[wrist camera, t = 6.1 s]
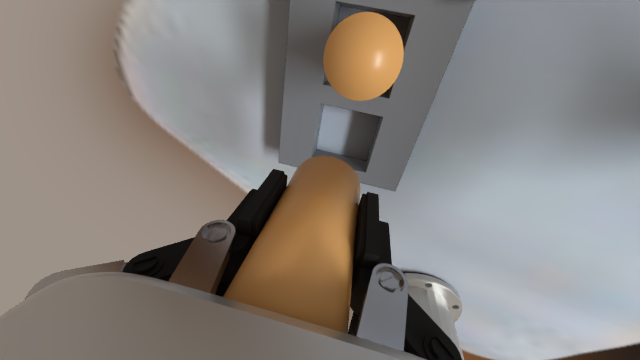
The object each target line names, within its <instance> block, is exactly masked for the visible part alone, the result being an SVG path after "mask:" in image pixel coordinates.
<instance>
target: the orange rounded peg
mask: <svg viewBox="0 0 640 360" xmlns="http://www.w3.org/2000/svg"><path fill="white" fill-rule="evenodd" d="M359 198H360V181H359V178H358V176H357V174H356V172H355V171H354V170H353V168H352V167H351V166H350V165H348V164H347V163H346V162H344V161H342V160H340V159H338V158H335V157H331V156H316V157H312V158H309V159H307V160H306V161H304V162H303V163H302V164H301V165H300V166H299V167H298V168H297V170H296V172H295V173H294V175H293V177H292V178H291V180H290V182H289V184H288V185H287V187H286V189H285V191H284V192H283V194H282V196H281V198H280V199H279V201H278V203H277V204H276V206H275V208H274V210H273V211H272V213H271V215H270V217H269V218H268V220H267V222H266V223H265V225H264V227H263V229H262V230H261V232H260V234H259V236H258V237H257V239H256V241H255V242H254V244H253V246H252V248H251V249H250V251H249V253H248V255H247V256H246V258H245V260H244V262H243V263H242V265H241V267H240V268H239V270H238V272H237V274H236V275H235V277H234V279H233V281H232V282H231V284H230V286H229V287H228V289H227V291H226V293H225V294H224V296H223V297H224V298H228V299H231V300H235V301H238V302H242V303H245V304H249V305H252V306H255V307H259V308H262V309H266V310H269V311H272V312H276V313H279V314H283V315H286V316H289V317H293V318H296V319H299V320H303V321H306V322H310V323H313V324H316V325H320V326H323V327H326V328H330V329H333V330H336V331H340V332H343V333H346V334H347V333H348V321H349V310H350V299H351V288H352V277H353V264H354V253H355V242H356V231H357V219H358V208H359Z"/></svg>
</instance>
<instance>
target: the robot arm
mask: <svg viewBox="0 0 640 360" xmlns="http://www.w3.org/2000/svg"><path fill="white" fill-rule="evenodd" d="M286 185H287V175H285V174H284V171H280V170H275V169H273V170H272V171H271V173H270V174H269V175H268V177H267V178H266V179H265V181H264V182H263V183H262V185H261V186H260V187H259V189H258V190H256V189H252V190H251V191H250V192H249V193H248V194H247V196H246V197H245V198H244V200H243V201H242V202H241V203H240V205H239V206H238V207H237V208H236V210H235V211H234V212H233V213H232V215H231V216H230V217H229V218H228V219H227V221H225V220H215V221H211V222H209V223H207V224H205V225H204V226H202V227H201V229H200V230H199V232H198V233H197V235H196V236H195V237H194V238H191V239H187V240H184V241H181V242H178V243H174V244H171V245H167V246H164V247H161V248H158V249H154V250H151V251H147V252H144V253H142V254H139V255H137V256H136V257H134V258H132V259H131V260H130V261H129V262H127V263H125V262H124V260H121V261H116V262H110V263H105V264H99V265H93V266H87V267H82V268H76V269H71V270H65V271H61V272H57V273H54V274H52V275H50V276H48V277H45V278H44V279H42V280H41V281H39V282H38V283H37V284H36V285H34V287H33V288H32V289H31V290H30V291H29V293H28V295H27V296H26V298H25V300H24V301H22V302H21V303H19V304H18V305H16V306H15V307H13V308H12V309H10V310H9V311H7V312H6V313H5V314H3V315H2V316H0V360H464V357H463V354H462V350H461V347H460V343H459V340H458V336H457V332H456V329H455V325H454V322H455V321H457V320H458V318H459V317H460V315H461V313H462V304H461V301H460V298H459V295H458V294H457V292H456V291H455V290H454V289H453V288H452V287H451V286H450V285H448V284H447V283H446V282H444V281H442V280H440V279H437V278H435V277H432V276H428V275H423V274H418V273H403V272H402V271H400V270H399V269H398V268H397V267H395V266H393V265H392V261H391V248H390V235H389V224H388V223H386V222H382V221H379V199H378V194H374V193H370V192H367V194H362V197H361V200H360V203H359V208H358V219H357V231H356V242H355V253H354V264H353V277H352V288H351V299H350V307H351V308H352V310H353V311H354V312H353V316H352V319H351V323H350V326H349V330H348V334H346V333H343V332H340V331H336V330H333V329H330V328H326V327H323V326H320V325H316V324H313V323H310V322H306V321H303V320H299V319H296V318H293V317H289V316H286V315H283V314H279V313H276V312H272V311H269V310H266V309H262V308H259V307H255V306H252V305H249V304H245V303H242V302H238V301H235V300H231V299H228V298H224V297H223V296H224V294H225V293H226V291H227V289H228V287H229V286H230V284H231V282H232V281H233V279H234V277H235V275H236V274H237V272H238V270H239V268H240V267H241V265H242V263H243V262H244V260H245V258H246V256H247V255H248V253H249V251H250V249H251V248H252V246H253V244H254V242H255V241H256V239H257V237H258V236H259V234H260V232H261V230H262V229H263V227H264V225H265V223H266V222H267V220H268V218H269V217H270V215H271V213H272V211H273V210H274V208H275V206H276V204H277V203H278V201H279V199H280V198H281V196H282V194H283V192H284V191H285V189H286Z"/></svg>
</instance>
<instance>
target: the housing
mask: <svg viewBox="0 0 640 360" xmlns="http://www.w3.org/2000/svg"><path fill="white" fill-rule="evenodd" d="M474 1H475V0H290V6H289V21H288V35H287V49H286V63H285V77H284V92H283V106H282V120H281V134H280V149H279V163H281V164H286V165H290V166H294V167H299V166H300V165H301V164H302V163H303V162H304V161H306V160H307V159H309V158H312V157H316V156H331V157H335V158H338V159H340V160H342V161H344V162H346V163H347V164H348V165H350V166H351V167H352V168H353V170H354V171H355V172H356V174H357V176H358V178H359V181H360V183H363V184H367V185H371V186H375V187H379V188H383V189H387V190H391V191H396V188H397V186H398V184H399V181H400V179H401V176H402V174H403V172H404V169H405V167H406V164H407V162H408V160H409V157H410V155H411V152H412V150H413V148H414V145H415V143H416V140H417V138H418V136H419V133H420V131H421V128H422V126H423V124H424V121H425V119H426V116H427V114H428V112H429V109H430V107H431V104H432V102H433V100H434V97H435V95H436V92H437V90H438V88H439V85H440V83H441V80H442V78H443V76H444V73H445V71H446V68H447V66H448V64H449V61H450V59H451V56H452V54H453V52H454V49H455V47H456V44H457V42H458V40H459V37H460V35H461V32H462V30H463V28H464V25H465V23H466V20H467V18H468V16H469V13H470V11H471V8H472V6H473V3H474ZM340 5H341V6H346V7H352V8H357V9H363V10H369V11H374V12H380V13H385V14H391V15H396V16H402V17H407V18H410V22H409V25H408V28H407V32H406V35H405V38H404V41H403V48H404V57H403V63H402V67H401V70H400V73H399V75H398V77H397V79H396V80H395V82H394V83H393V84H392V86H391V87H390V88H389V90H388V93H387V92H384V93H383V94H381V95H380V96H378V97H376V98H373V99H370V100H365V101H355V100H350V99H347V98H345V97H343V96H341V95H340V94H339V93H337V92H336V91H335V90H334V89H333V87H332V86H331V85H330V83H329V81H328V79H327V77H326V74H325V71H324V64H323V56H324V49H325V46H326V42H327V40H328V38H329V36H330V34H331V32H332V31H333V30H334V28H335V27H336V26H337V21H338V15H339V9H340ZM324 104H326V105H331V106H335V107H340V108H345V109H349V110H354V111H358V112H363V113H367V114H372V115H377V116H380V120H379V123H378V126H377V129H376V133H375V136H374V139H373V143H372V146H371V149H370V152H369V156H368V159H367V161H363V160H359V159H355V158H351V157H346V156H342V155H338V154H334V153H330V152H325V151H321V150H317V149H316V148H317V142H318V136H319V130H320V124H321V118H322V112H323V106H324Z"/></svg>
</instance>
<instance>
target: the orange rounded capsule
mask: <svg viewBox="0 0 640 360" xmlns="http://www.w3.org/2000/svg"><path fill="white" fill-rule="evenodd" d="M403 57H404V48H403V42H402V38H401V36H400V33H399V31H398V30H397V28H396V26H395V25H394V24H393V23H392V22H391V21H390V20H389V19H388V18H386V17H384V16H383V15H380V14H378V13H374V12H360V13H355V14H353V15H350V16H349V17H347V18H345V19H344V20H342V21H341V22H340V23H339V24H338V25H337V26H336V27H335V28H334V30H333V31H332V32H331V34H330V36H329V38H328V40H327V42H326V46H325V49H324V56H323V64H324V71H325V74H326V77H327V79H328V81H329V83H330V85H331V86H332V87H333V89H334V90H335V91H336V92H337V93H339V94H340V95H341V96H343V97H345V98H347V99H350V100H355V101H365V100H370V99H373V98H376V97H378V96H380V95H381V94H383V93H384V92H385V91H387V90H388V89H389V88H390V87H391V86H392V84H393V83H394V82H395V80H396V79H397V77H398V75H399V73H400V70H401V67H402V63H403Z"/></svg>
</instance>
